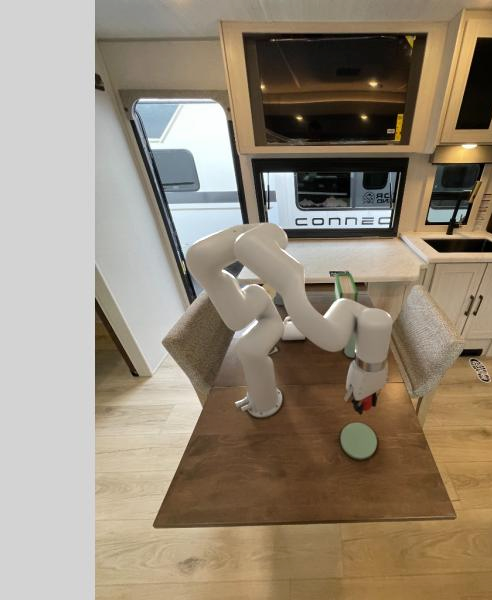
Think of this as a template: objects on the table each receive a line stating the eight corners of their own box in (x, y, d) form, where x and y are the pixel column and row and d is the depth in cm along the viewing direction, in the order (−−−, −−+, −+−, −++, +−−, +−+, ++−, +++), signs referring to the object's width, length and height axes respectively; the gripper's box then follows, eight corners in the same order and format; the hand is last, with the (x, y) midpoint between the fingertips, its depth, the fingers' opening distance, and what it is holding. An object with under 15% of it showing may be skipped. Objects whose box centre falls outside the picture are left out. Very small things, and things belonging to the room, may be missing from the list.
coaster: (354, 467, 75) (355, 465, 74) (333, 434, 83) (333, 432, 82) (384, 447, 79) (384, 445, 79) (361, 418, 88) (361, 416, 87)
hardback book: (353, 336, 123) (357, 292, 110) (338, 337, 122) (340, 292, 110) (348, 314, 138) (351, 273, 125) (334, 315, 137) (335, 273, 124)
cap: (371, 399, 73) (372, 389, 71) (371, 411, 70) (372, 402, 68) (356, 398, 74) (357, 388, 72) (356, 410, 70) (357, 401, 69)
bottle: (351, 359, 110) (354, 323, 100) (341, 350, 115) (343, 315, 105) (362, 353, 113) (367, 317, 103) (352, 345, 118) (355, 310, 108)
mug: (305, 343, 119) (304, 321, 113) (282, 344, 119) (280, 322, 112) (305, 331, 126) (304, 310, 120) (283, 332, 125) (281, 311, 119)
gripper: (386, 336, 69) (378, 384, 78) (332, 361, 62) (331, 410, 71) (407, 354, 63) (397, 403, 73) (351, 383, 56) (347, 433, 66)
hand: (364, 406), depth 72 cm, fingers closed on cap, 3 cm apart
